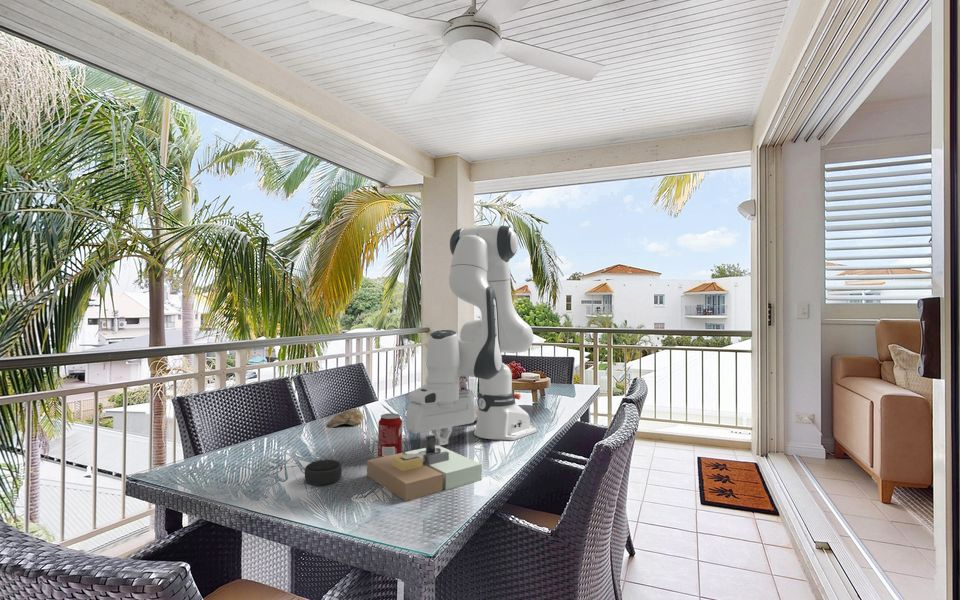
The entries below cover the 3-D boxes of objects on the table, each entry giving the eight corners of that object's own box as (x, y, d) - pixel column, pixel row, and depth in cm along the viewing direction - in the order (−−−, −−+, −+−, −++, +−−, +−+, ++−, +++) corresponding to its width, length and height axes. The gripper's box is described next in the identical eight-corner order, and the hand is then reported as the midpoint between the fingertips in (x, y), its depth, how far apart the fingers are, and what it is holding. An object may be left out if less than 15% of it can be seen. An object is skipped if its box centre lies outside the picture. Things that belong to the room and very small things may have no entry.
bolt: (434, 456, 129) (434, 434, 129) (439, 459, 127) (439, 436, 127) (400, 464, 122) (401, 440, 122) (405, 467, 121) (406, 442, 120)
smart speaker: (348, 476, 126) (348, 460, 126) (329, 489, 118) (329, 472, 118) (317, 472, 128) (318, 457, 128) (297, 485, 120) (297, 468, 120)
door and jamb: (437, 459, 140) (438, 438, 140) (481, 479, 124) (481, 456, 124) (366, 475, 126) (367, 452, 126) (405, 501, 111) (406, 474, 111)
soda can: (396, 461, 137) (397, 419, 137) (374, 459, 139) (374, 417, 139) (405, 454, 144) (405, 413, 144) (383, 452, 145) (384, 412, 145)
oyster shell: (329, 422, 181) (329, 408, 181) (363, 420, 184) (363, 407, 184) (327, 428, 172) (327, 414, 172) (364, 426, 175) (364, 413, 175)
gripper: (466, 386, 138) (466, 435, 138) (403, 394, 125) (402, 448, 125) (480, 389, 133) (480, 440, 133) (415, 398, 120) (415, 454, 120)
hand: (441, 444), depth 129 cm, fingers closed
